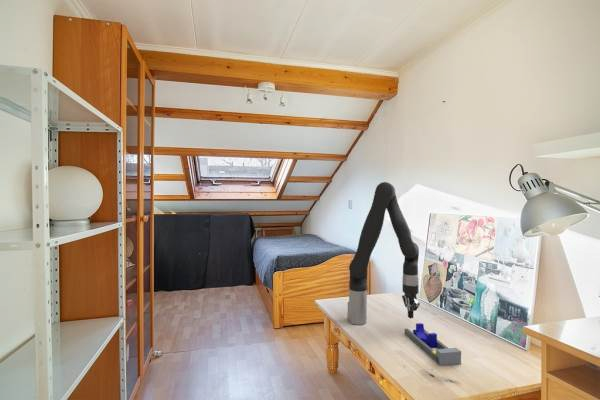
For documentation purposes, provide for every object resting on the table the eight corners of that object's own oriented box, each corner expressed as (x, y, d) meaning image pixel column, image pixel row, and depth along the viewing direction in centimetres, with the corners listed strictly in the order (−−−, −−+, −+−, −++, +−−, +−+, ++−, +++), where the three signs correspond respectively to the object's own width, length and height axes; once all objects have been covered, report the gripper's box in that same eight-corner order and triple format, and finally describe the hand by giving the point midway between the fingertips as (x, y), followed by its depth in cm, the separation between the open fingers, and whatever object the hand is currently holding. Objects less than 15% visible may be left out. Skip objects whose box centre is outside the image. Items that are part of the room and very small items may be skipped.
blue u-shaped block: (412, 336, 148) (413, 323, 147) (421, 335, 148) (421, 323, 148) (427, 348, 136) (427, 335, 136) (436, 347, 137) (436, 334, 136)
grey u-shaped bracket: (440, 365, 122) (440, 353, 122) (404, 333, 149) (404, 323, 149) (461, 363, 123) (461, 351, 123) (421, 332, 151) (421, 322, 151)
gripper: (396, 279, 159) (397, 313, 160) (410, 287, 146) (410, 323, 147) (410, 278, 161) (410, 312, 161) (425, 286, 148) (425, 322, 148)
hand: (410, 317), depth 154 cm, fingers closed
